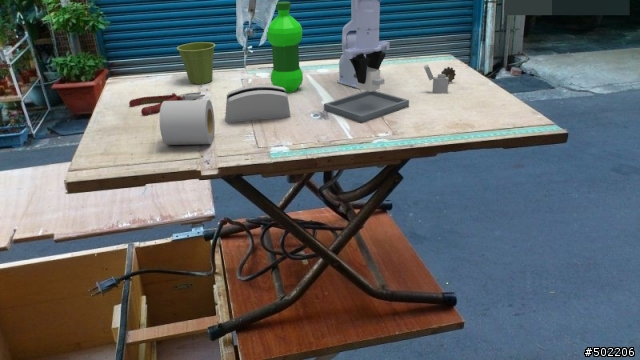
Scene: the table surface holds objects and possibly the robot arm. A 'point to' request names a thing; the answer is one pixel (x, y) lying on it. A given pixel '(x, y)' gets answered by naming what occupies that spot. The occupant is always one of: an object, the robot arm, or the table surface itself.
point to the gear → (449, 73)
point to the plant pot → (198, 61)
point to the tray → (366, 106)
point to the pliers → (161, 101)
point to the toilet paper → (187, 122)
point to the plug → (371, 80)
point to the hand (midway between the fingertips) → (366, 81)
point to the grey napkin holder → (257, 103)
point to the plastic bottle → (285, 49)
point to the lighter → (438, 81)
